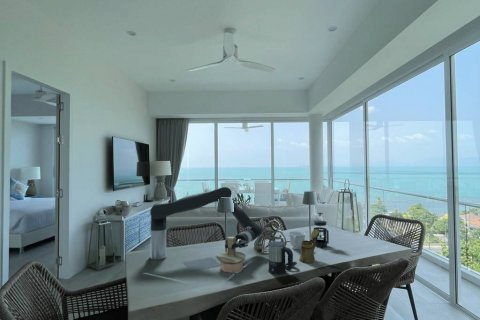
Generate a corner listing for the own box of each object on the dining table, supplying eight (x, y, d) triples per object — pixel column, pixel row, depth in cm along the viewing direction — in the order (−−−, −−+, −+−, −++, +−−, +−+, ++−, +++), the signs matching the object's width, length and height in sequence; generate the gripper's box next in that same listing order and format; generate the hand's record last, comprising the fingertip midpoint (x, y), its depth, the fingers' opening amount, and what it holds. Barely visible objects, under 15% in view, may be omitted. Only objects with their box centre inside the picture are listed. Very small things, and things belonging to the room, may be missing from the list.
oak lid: (237, 264, 137) (237, 242, 137) (212, 260, 144) (212, 239, 144) (250, 255, 150) (249, 235, 151) (226, 252, 157) (226, 232, 157)
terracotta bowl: (226, 275, 139) (226, 265, 139) (218, 268, 149) (218, 259, 149) (245, 271, 144) (245, 262, 145) (236, 264, 154) (236, 255, 155)
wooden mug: (324, 260, 161) (323, 229, 161) (306, 264, 155) (305, 232, 155) (313, 256, 169) (313, 226, 169) (296, 259, 163) (296, 229, 163)
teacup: (285, 251, 179) (285, 235, 179) (290, 244, 193) (289, 230, 193) (304, 253, 175) (303, 237, 175) (307, 246, 188) (307, 232, 189)
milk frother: (265, 273, 142) (265, 244, 142) (273, 263, 157) (272, 237, 157) (293, 277, 137) (292, 247, 137) (298, 266, 152) (297, 239, 152)
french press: (309, 245, 192) (309, 212, 193) (318, 243, 197) (318, 211, 198) (323, 249, 182) (323, 214, 183) (332, 246, 188) (331, 213, 188)
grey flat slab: (190, 273, 142) (190, 271, 142) (182, 263, 157) (182, 262, 157) (222, 267, 151) (222, 265, 151) (211, 258, 165) (211, 257, 165)
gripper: (232, 231, 163) (217, 238, 148) (254, 233, 157) (240, 241, 141) (232, 244, 163) (217, 252, 148) (254, 247, 157) (240, 256, 141)
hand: (229, 246), depth 145 cm, fingers closed on oak lid, 3 cm apart
